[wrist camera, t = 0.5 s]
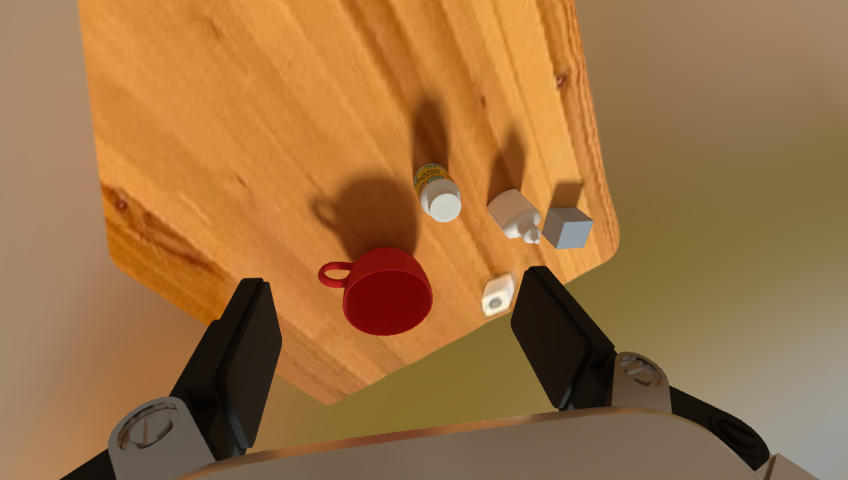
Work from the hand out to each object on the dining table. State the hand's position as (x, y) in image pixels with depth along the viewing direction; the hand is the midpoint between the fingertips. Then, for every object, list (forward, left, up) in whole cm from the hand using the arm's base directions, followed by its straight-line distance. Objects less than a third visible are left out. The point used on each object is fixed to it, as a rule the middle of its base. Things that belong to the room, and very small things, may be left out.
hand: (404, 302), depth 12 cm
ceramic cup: (+23, -1, -35) cm, 42 cm away
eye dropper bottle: (+13, +20, -35) cm, 42 cm away
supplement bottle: (+9, +8, -35) cm, 37 cm away
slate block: (+17, +31, -35) cm, 50 cm away
